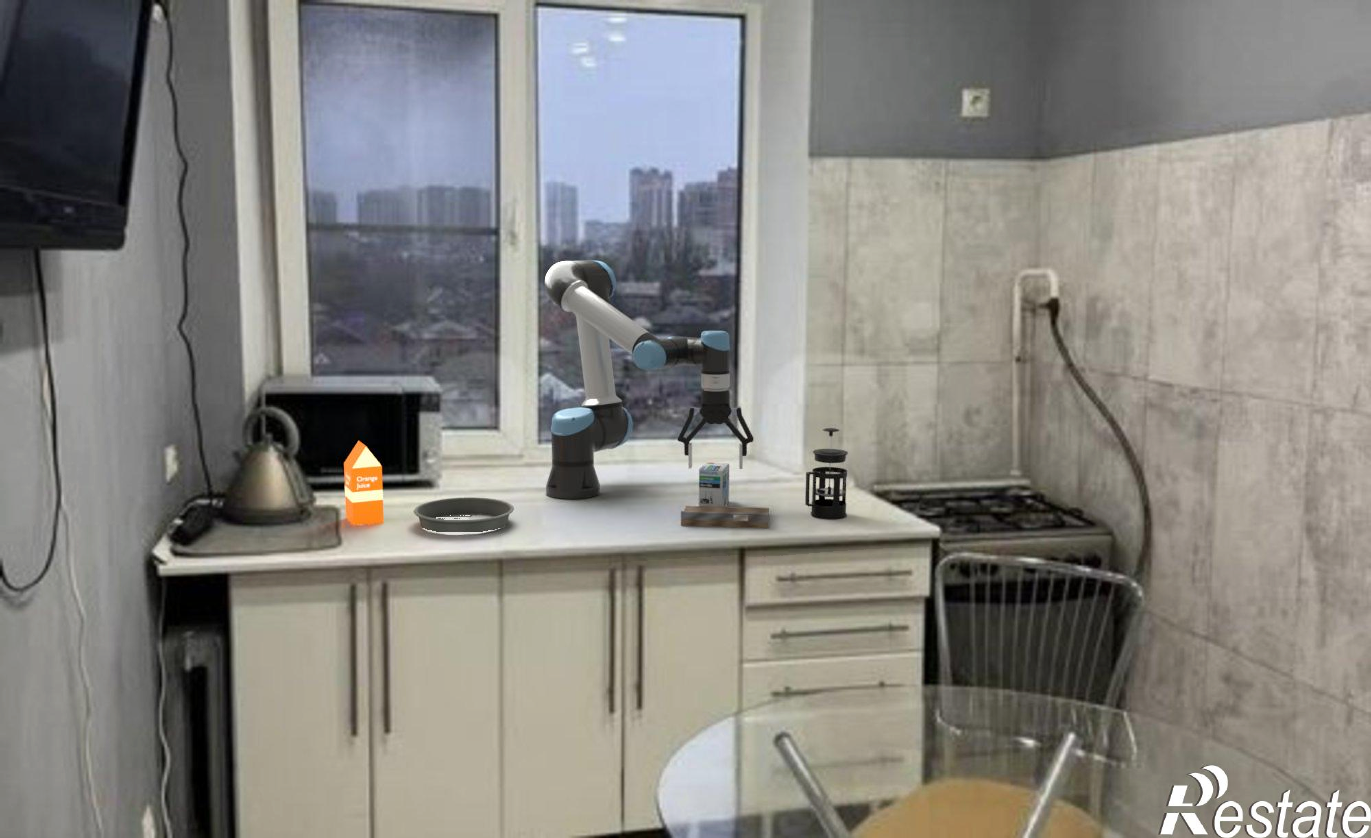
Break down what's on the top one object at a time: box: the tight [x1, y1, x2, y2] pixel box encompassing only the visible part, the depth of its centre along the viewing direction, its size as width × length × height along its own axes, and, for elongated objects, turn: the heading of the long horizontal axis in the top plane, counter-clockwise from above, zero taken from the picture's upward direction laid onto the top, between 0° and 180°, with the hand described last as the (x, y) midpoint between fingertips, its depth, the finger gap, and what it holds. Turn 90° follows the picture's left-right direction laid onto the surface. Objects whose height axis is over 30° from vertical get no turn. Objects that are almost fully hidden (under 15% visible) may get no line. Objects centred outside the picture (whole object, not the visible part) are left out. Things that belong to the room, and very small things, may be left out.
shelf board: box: [680, 505, 770, 529], centre depth 304 cm, size 22×15×4 cm
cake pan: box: [413, 496, 515, 532], centre depth 297 cm, size 25×25×4 cm
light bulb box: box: [698, 461, 730, 507], centre depth 319 cm, size 11×7×11 cm, turn 168°
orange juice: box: [343, 440, 385, 526], centre depth 298 cm, size 8×9×20 cm
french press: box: [804, 427, 849, 521], centre depth 308 cm, size 12×9×23 cm
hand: (715, 467), depth 318 cm, fingers open, 13 cm apart
